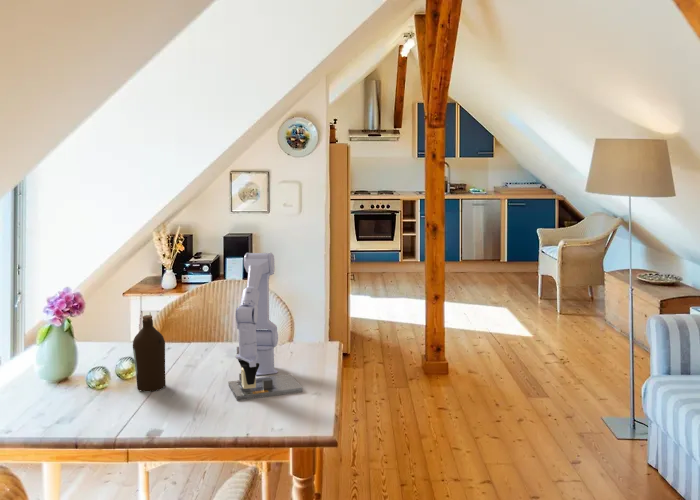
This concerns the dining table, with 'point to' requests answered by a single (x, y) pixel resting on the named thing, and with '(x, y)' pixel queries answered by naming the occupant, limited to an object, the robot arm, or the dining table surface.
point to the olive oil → (149, 357)
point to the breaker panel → (280, 387)
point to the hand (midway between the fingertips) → (249, 381)
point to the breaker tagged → (267, 383)
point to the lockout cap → (244, 382)
